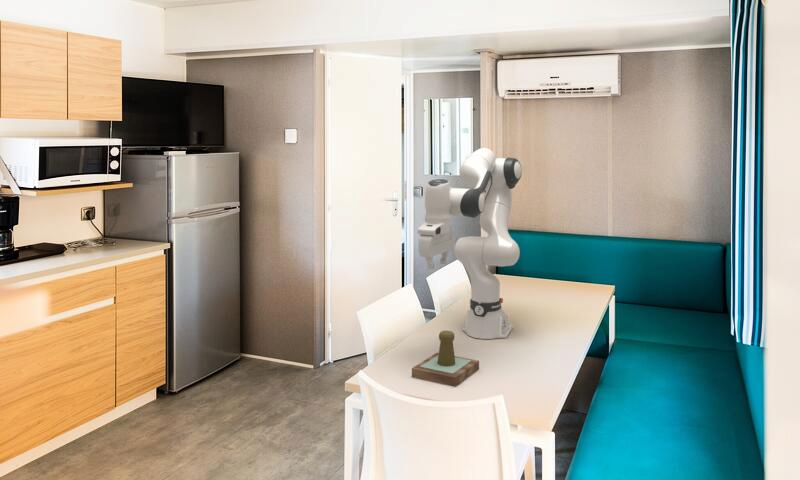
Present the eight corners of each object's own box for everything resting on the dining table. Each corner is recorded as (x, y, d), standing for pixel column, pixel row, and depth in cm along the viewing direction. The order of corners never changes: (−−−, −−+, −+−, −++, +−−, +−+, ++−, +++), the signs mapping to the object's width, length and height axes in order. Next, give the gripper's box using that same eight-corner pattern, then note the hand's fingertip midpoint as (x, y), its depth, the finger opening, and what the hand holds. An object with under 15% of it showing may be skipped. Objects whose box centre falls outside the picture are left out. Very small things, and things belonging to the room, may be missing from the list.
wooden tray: (437, 360, 229) (437, 351, 228) (479, 369, 221) (479, 359, 220) (411, 376, 213) (411, 367, 213) (455, 386, 205) (455, 376, 205)
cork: (454, 360, 220) (454, 328, 218) (456, 366, 214) (456, 334, 212) (436, 360, 220) (436, 328, 218) (438, 366, 214) (438, 334, 212)
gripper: (443, 222, 235) (442, 260, 237) (415, 229, 218) (415, 270, 220) (458, 224, 232) (458, 262, 234) (431, 231, 214) (431, 272, 217)
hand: (437, 266), depth 227 cm, fingers open, 8 cm apart
